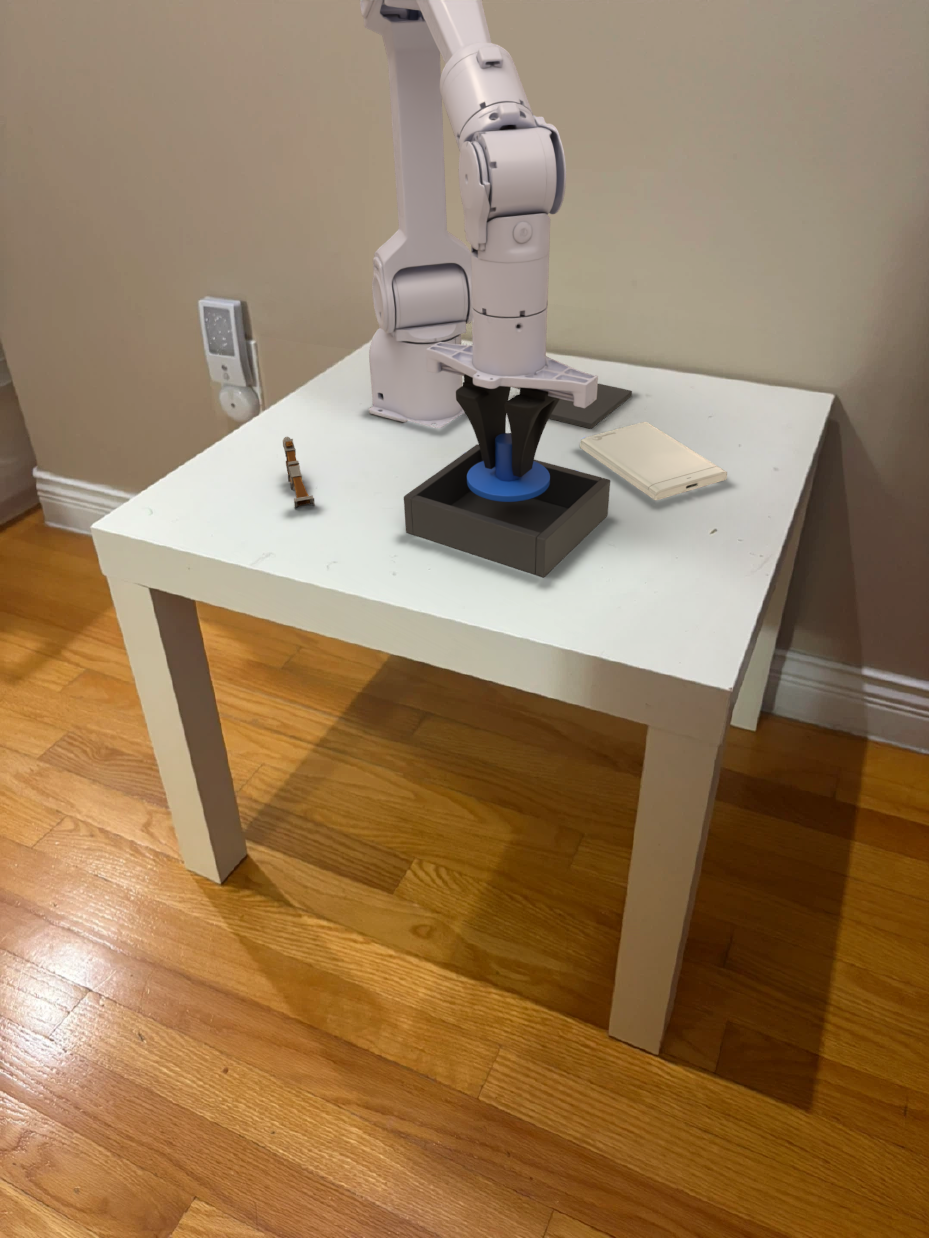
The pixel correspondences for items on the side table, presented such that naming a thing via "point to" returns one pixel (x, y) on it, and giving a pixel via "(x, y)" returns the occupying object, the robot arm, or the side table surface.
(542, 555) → the tray
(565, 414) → the mat
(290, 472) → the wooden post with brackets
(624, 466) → the hard drive
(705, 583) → the side table surface
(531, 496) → the lid
